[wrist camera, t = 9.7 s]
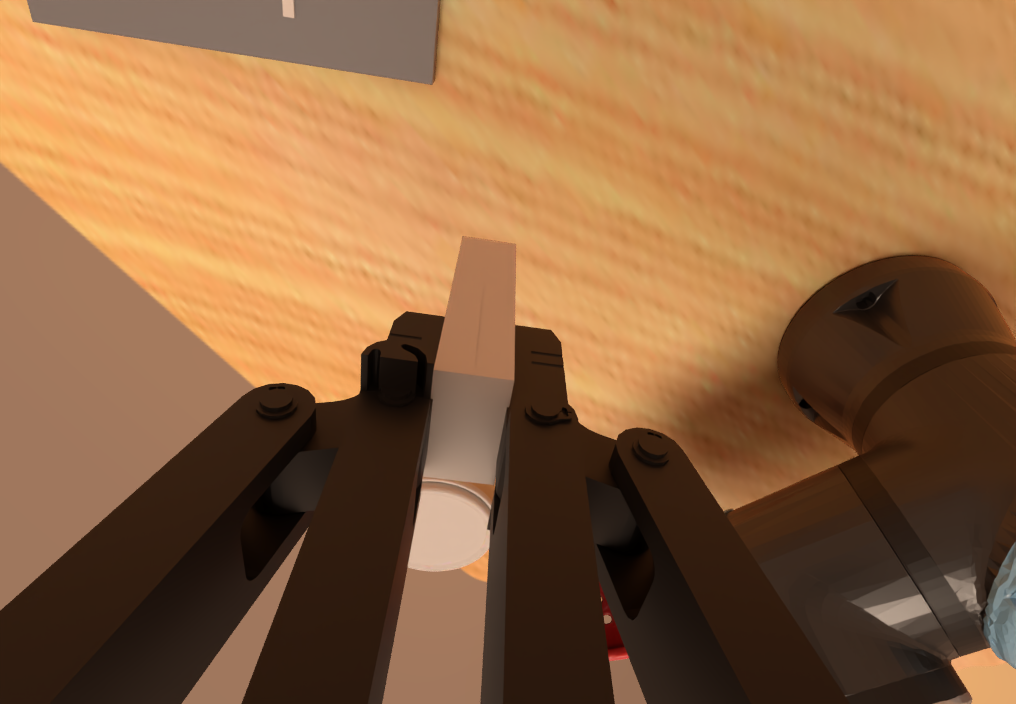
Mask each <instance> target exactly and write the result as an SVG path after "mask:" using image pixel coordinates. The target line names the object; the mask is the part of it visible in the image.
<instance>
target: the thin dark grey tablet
mask: <svg viewBox="0 0 1016 704" xmlns="http://www.w3.org/2000/svg"><path fill="white" fill-rule="evenodd" d="M27 2H28V6H29V9H30V13H31V17H32V20H33V22H37V23H44V24H50V25H56V26H63V27H69V28H76V29H82V30H88V31H95V32H101V33H107V34H114V35H120V36H126V37H133V38H139V39H145V40H152V41H158V42H164V43H171V44H177V45H183V46H190V47H196V48H202V49H209V50H215V51H221V52H228V53H234V54H240V55H247V56H253V57H259V58H266V59H272V60H278V61H285V62H291V63H297V64H304V65H310V66H316V67H323V68H329V69H335V70H342V71H348V72H354V73H361V74H367V75H373V76H380V77H386V78H392V79H399V80H405V81H411V82H418V83H424V84H430V85H432V84H433V82H434V80H435V68H436V54H437V40H438V26H439V12H440V0H27Z"/></svg>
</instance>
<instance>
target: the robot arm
mask: <svg viewBox="0 0 1016 704" xmlns="http://www.w3.org/2000/svg"><path fill="white" fill-rule="evenodd" d="M515 285H516V244H512V243H506V242H499V241H492V240H486V239H479V238H472V237H466V236H463V237H462V242H461V246H460V251H459V256H458V260H457V265H456V269H455V274H454V278H453V283H452V288H451V292H450V297H449V301H448V306H447V310H446V315H445V317H443V316H436V315H429V314H422V313H415V312H408V311H406V312H405V313H404V314H402V315H401V316H400V317H398V318H397V319H396V320H395V321H394V322H393V325H392V328H391V331H390V334H389V336H388V339H387V340H385V341H380V342H376V343H374V344H372V345H370V346H368V347H367V348H366V349H365V350H364V351H363V353H362V354H361V391H360V393H359V395H357V396H355V397H352V398H349V399H346V400H341V401H335V402H325V403H315V398H314V396H313V395H312V394H311V393H310V392H309V391H308V390H306V389H304V388H302V387H300V386H298V385H292V384H286V383H279V384H268V385H264V386H261V387H258V388H255V389H253V390H251V391H250V392H248V393H247V394H245V395H244V396H242V397H241V398H240V399H239V400H238V401H237V402H236V403H234V404H233V405H232V406H231V407H230V408H229V409H228V410H227V411H225V412H224V413H223V414H222V415H221V416H220V417H219V418H217V419H216V420H215V421H214V422H213V423H212V424H211V425H210V426H208V427H207V428H206V429H205V430H204V431H203V432H202V433H200V434H199V435H198V436H197V437H196V438H195V439H194V440H193V441H192V442H190V443H189V444H188V445H187V446H186V447H185V448H184V449H182V450H181V451H180V452H179V453H178V454H177V455H176V456H174V457H173V458H172V459H171V460H170V461H169V462H168V463H167V464H165V465H164V466H163V467H162V468H161V469H160V470H159V471H158V472H156V473H155V474H154V475H153V476H152V477H151V478H150V479H149V480H147V481H146V482H145V483H144V484H143V485H142V486H141V487H140V488H138V489H137V490H136V491H135V492H134V493H133V494H132V495H130V496H129V497H128V498H127V499H126V500H125V501H124V502H123V503H121V504H120V505H119V506H118V507H117V508H116V509H115V510H113V511H112V512H111V513H110V514H109V515H108V516H107V517H106V518H105V519H103V520H102V521H101V522H100V523H99V524H98V525H97V526H95V527H94V528H93V529H92V530H91V531H90V532H89V533H88V534H86V535H85V536H84V537H83V538H82V539H81V540H80V541H78V542H77V543H76V544H75V545H74V546H73V547H72V548H71V549H69V550H68V551H67V552H66V553H65V554H64V555H63V556H62V557H61V558H59V559H58V560H57V561H56V562H55V563H54V564H53V565H51V566H50V567H49V568H48V569H47V570H46V571H45V572H43V573H42V574H41V575H40V576H39V577H38V578H37V579H36V580H34V581H33V582H32V583H31V584H30V585H29V586H28V587H27V588H26V589H24V590H23V591H22V592H21V593H20V594H19V595H18V596H16V597H15V598H14V599H13V600H12V601H11V602H10V603H9V604H7V605H6V606H5V607H4V608H3V609H2V610H1V611H0V704H182V702H183V701H184V699H185V698H186V697H187V695H188V694H189V693H190V691H191V690H192V688H193V687H194V685H195V684H196V683H197V681H198V680H199V678H200V677H201V676H202V674H203V673H204V672H205V670H206V669H207V667H208V666H209V665H210V663H211V662H212V660H213V659H214V657H215V656H216V655H217V654H218V652H219V651H220V649H221V648H222V647H223V645H224V644H225V642H226V641H227V640H228V638H229V637H230V635H231V634H232V633H233V631H234V630H235V628H236V627H237V626H238V624H239V623H240V621H241V620H242V619H243V617H244V616H245V615H246V613H247V612H248V610H249V609H250V608H251V606H252V604H253V603H254V602H255V601H256V599H257V598H258V596H259V595H260V594H261V592H262V591H263V589H264V588H265V587H266V585H267V584H268V582H269V581H270V580H271V578H272V577H273V575H274V574H275V573H276V571H277V570H278V569H279V567H280V566H281V564H282V563H283V562H284V560H285V559H286V557H287V556H288V555H289V553H290V552H291V550H292V549H293V547H294V546H295V545H296V543H297V542H298V541H299V539H300V538H301V537H302V535H303V534H304V532H305V531H306V530H307V528H308V530H307V533H306V535H305V538H304V541H303V543H302V546H301V549H300V551H299V554H298V557H297V559H296V562H295V564H294V567H293V570H292V572H291V575H290V578H289V580H288V583H287V585H286V588H285V591H284V593H283V596H282V599H281V601H280V604H279V607H278V609H277V612H276V615H275V617H274V620H273V623H272V625H271V628H270V630H269V633H268V635H267V638H266V641H265V643H264V646H263V649H262V652H261V654H260V656H259V659H258V662H257V664H256V667H255V670H254V672H253V675H252V678H251V680H250V683H249V686H248V688H247V691H246V694H245V696H244V699H243V701H242V704H382V701H383V695H384V690H385V685H386V679H387V673H388V669H389V663H390V658H391V653H392V647H393V642H394V636H395V631H396V625H397V620H398V615H399V610H400V604H401V599H402V594H403V588H404V583H405V577H406V572H407V567H408V561H409V556H410V551H411V545H412V540H413V535H414V529H415V524H416V519H417V513H418V508H419V502H420V497H421V488H422V478H423V477H431V478H439V479H447V480H456V481H464V482H472V483H480V484H489V485H494V482H495V477H496V482H495V490H494V495H493V500H492V505H491V510H490V515H489V520H488V525H487V530H490V543H489V561H488V579H487V597H486V615H485V632H484V651H483V668H482V686H481V704H615V703H614V695H613V687H612V679H611V672H610V664H609V656H608V648H607V640H606V633H605V625H604V617H603V609H602V602H601V594H600V586H599V583H600V585H601V588H602V590H603V593H604V595H605V598H606V600H607V603H608V605H609V608H610V611H611V613H612V616H613V618H614V621H615V623H616V626H617V628H618V631H619V634H620V636H621V639H622V641H623V644H624V646H625V649H626V651H627V654H628V657H629V659H630V662H631V664H632V666H633V669H634V672H635V674H636V677H637V679H638V682H639V684H640V687H641V689H642V692H643V695H644V697H645V700H646V702H647V704H971V702H972V697H971V695H970V693H969V692H968V691H967V689H966V687H965V686H964V684H963V683H962V681H961V679H960V678H959V676H958V675H957V673H956V671H955V670H954V668H953V667H952V665H951V660H952V659H955V658H958V657H959V656H960V657H961V656H964V655H967V654H970V653H973V652H977V651H980V650H983V649H986V648H991V649H992V650H993V652H994V653H995V655H996V656H997V657H998V658H1000V659H1002V660H1004V661H1006V662H1007V663H1009V664H1010V665H1011V666H1012V667H1013V668H1015V669H1016V340H1015V338H1014V336H1013V334H1012V332H1011V331H1010V329H1009V327H1008V325H1007V323H1006V322H1005V320H1004V318H1003V316H1002V315H1001V313H1000V311H999V310H998V308H997V305H996V302H995V300H994V299H993V297H992V296H991V294H990V293H989V292H988V290H987V289H986V288H985V287H984V286H983V285H982V284H981V283H980V282H978V281H977V280H976V279H974V278H973V277H971V276H970V275H968V274H967V273H966V272H964V271H963V270H961V269H960V268H958V267H957V266H955V265H953V264H951V263H949V262H947V261H944V260H941V259H937V258H933V257H927V256H900V257H893V258H888V259H883V260H879V261H876V262H872V263H869V264H867V265H864V266H861V267H859V268H856V269H854V270H852V271H850V272H848V273H846V274H844V275H842V276H841V277H839V278H837V279H836V280H834V281H832V282H831V283H830V284H828V285H827V286H825V287H824V288H823V289H821V290H820V291H819V292H818V293H816V294H815V295H814V296H813V297H812V298H811V299H810V300H809V301H808V302H807V303H806V304H805V305H804V306H803V307H802V308H801V309H800V311H799V312H798V313H797V314H796V316H795V317H794V318H793V320H792V321H791V323H790V325H789V326H788V328H787V330H786V332H785V334H784V336H783V339H782V341H781V344H780V348H779V353H778V373H779V378H780V381H781V383H782V385H783V387H784V389H785V391H786V392H787V394H788V395H789V397H790V398H791V400H792V401H793V403H794V404H795V406H796V407H797V408H798V409H799V410H800V411H801V413H802V414H803V415H805V416H806V417H807V418H808V419H810V420H811V421H812V422H814V423H815V424H817V425H818V426H820V427H821V428H823V429H824V430H826V431H827V432H829V433H830V434H832V435H833V436H835V437H836V438H838V439H839V440H841V441H842V442H844V443H845V444H847V445H848V446H850V447H851V448H853V449H854V450H855V451H856V452H857V453H858V454H859V456H857V457H855V458H852V459H850V460H848V461H846V462H843V463H841V464H839V465H836V466H834V467H831V468H829V469H827V470H825V471H822V472H820V473H818V474H815V475H813V476H811V477H809V478H806V479H804V480H802V481H799V482H797V483H795V484H793V485H790V486H788V487H786V488H783V489H781V490H779V491H777V492H774V493H772V494H770V495H767V496H765V497H763V498H761V499H758V500H756V501H754V502H751V503H749V504H747V505H745V506H742V507H740V508H738V509H735V510H733V509H728V510H725V511H724V512H723V510H722V509H721V507H720V506H719V504H718V503H717V501H716V500H715V498H714V497H713V495H712V494H711V492H710V491H709V489H708V488H707V486H706V485H705V483H704V482H703V480H702V479H701V477H700V475H699V474H698V472H697V471H696V469H695V468H694V466H693V465H692V463H691V462H690V460H689V459H688V457H687V456H686V454H685V453H684V451H683V450H682V449H681V448H680V447H679V445H678V444H677V443H676V442H675V441H674V440H672V439H670V438H669V437H667V436H666V435H664V434H662V433H660V432H657V431H654V430H651V429H645V428H632V429H627V430H625V431H623V432H622V433H621V434H619V435H618V438H617V440H614V439H611V438H608V437H605V436H603V435H600V434H597V433H595V432H593V431H591V430H589V429H587V428H586V427H584V426H583V425H581V424H580V423H579V422H578V418H577V415H576V413H575V410H574V409H573V408H572V407H571V406H570V405H569V404H568V400H567V391H566V382H565V373H564V368H563V366H564V365H563V358H562V347H561V342H560V341H559V339H558V338H557V337H556V336H555V334H554V333H553V332H552V330H546V329H539V328H532V327H525V326H518V325H515Z"/></svg>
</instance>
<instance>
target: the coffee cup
mask: <svg viewBox="0 0 1016 704" xmlns="http://www.w3.org/2000/svg"><path fill="white" fill-rule="evenodd" d="M494 490H495V484H494V485H489V484H480V483H472V482H464V481H456V480H447V479H439V478H431V477H423V478H422V488H421V497H420V502H419V508H418V513H417V519H416V524H415V529H414V535H413V540H412V545H411V551H410V556H409V561H408V567H409V568H413V569H417V570H424V571H447V570H453V569H458V568H461V567H464V566H467V565H469V564H471V563H473V562H475V561H476V560H478V559H479V558H480V557H482V556H483V555H484V554H485V553H486V552H487V550H488V549H489V543H490V530H487V525H488V520H489V515H490V510H491V505H492V500H493V495H494Z"/></svg>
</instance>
